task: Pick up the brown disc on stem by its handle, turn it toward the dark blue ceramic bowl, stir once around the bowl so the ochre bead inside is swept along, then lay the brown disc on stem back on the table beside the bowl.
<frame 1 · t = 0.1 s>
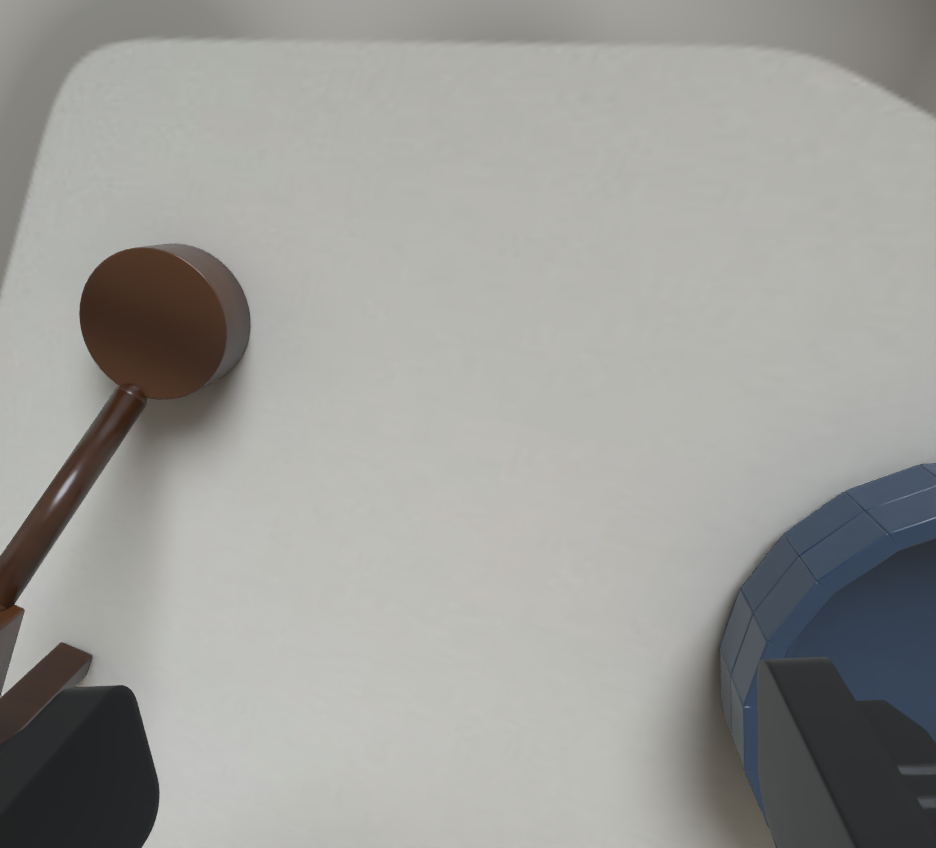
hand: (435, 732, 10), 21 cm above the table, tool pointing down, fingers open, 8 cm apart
brown disc on stem: (181, 316, 30), on the table
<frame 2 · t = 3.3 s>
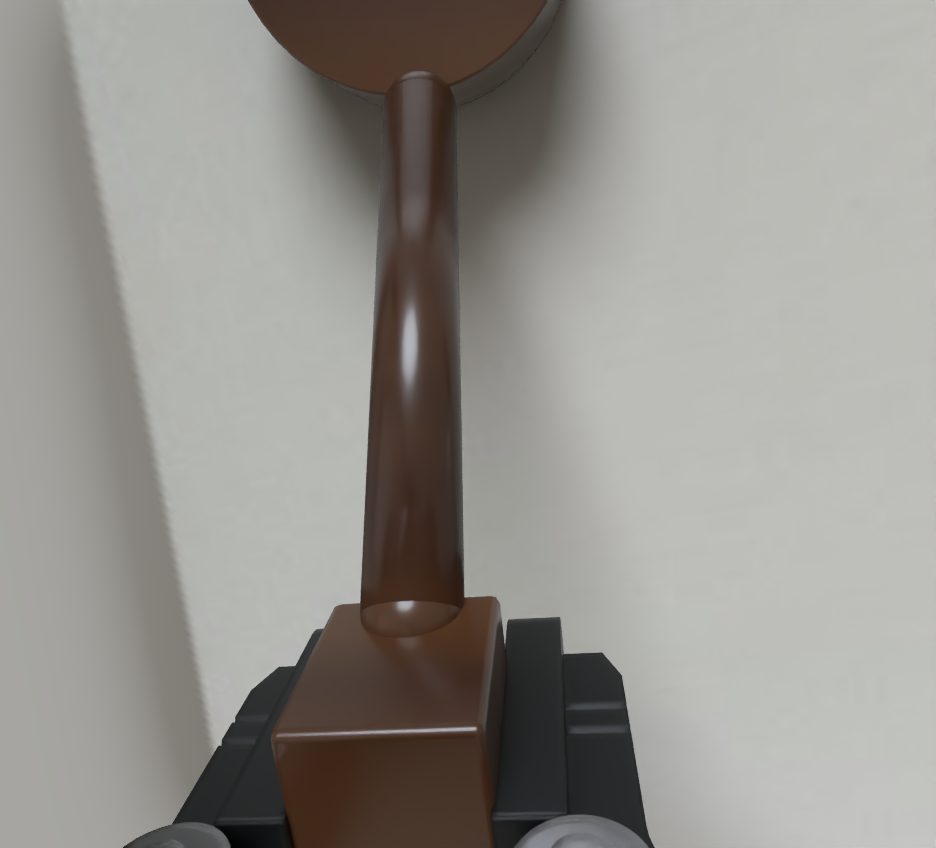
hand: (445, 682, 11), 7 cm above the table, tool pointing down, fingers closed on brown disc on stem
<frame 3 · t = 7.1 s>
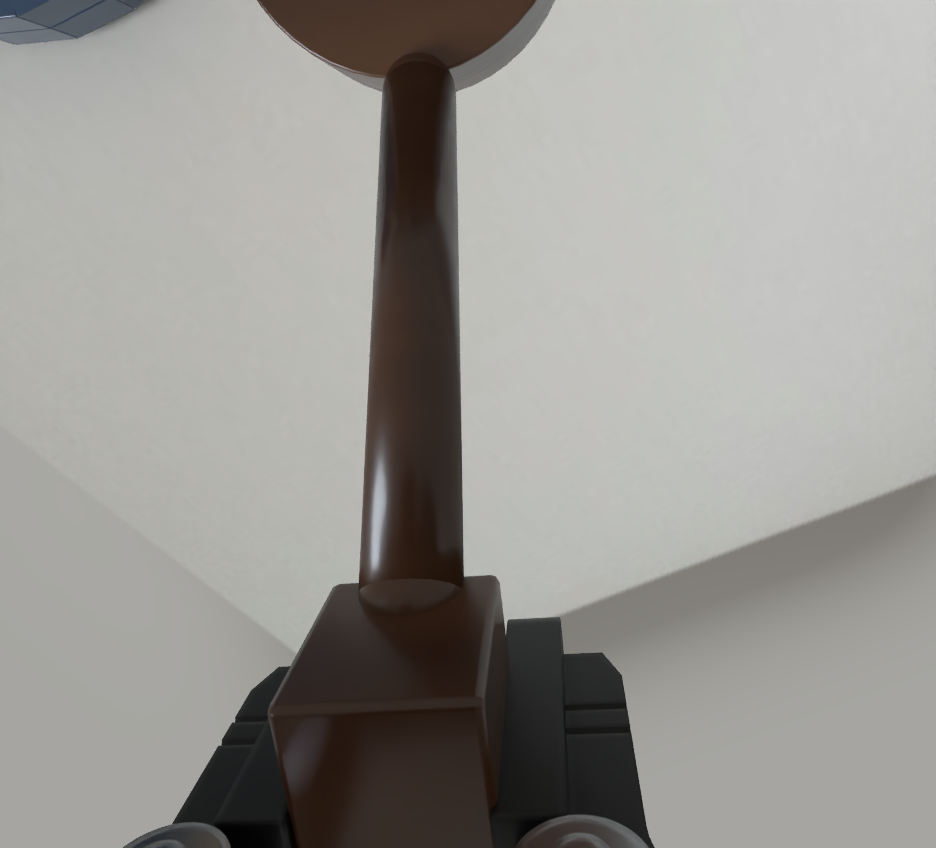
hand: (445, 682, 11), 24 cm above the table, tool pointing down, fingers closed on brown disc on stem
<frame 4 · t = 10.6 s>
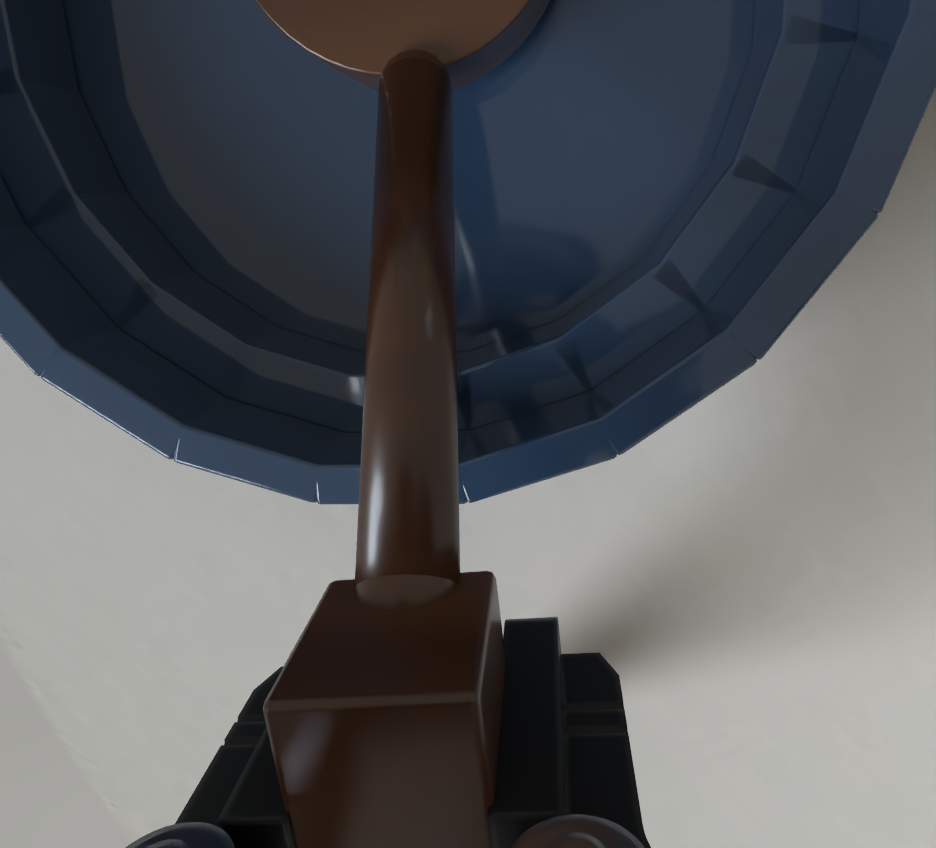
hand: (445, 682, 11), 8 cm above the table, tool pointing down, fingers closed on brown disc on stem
bowl: (401, 18, 16), on the table
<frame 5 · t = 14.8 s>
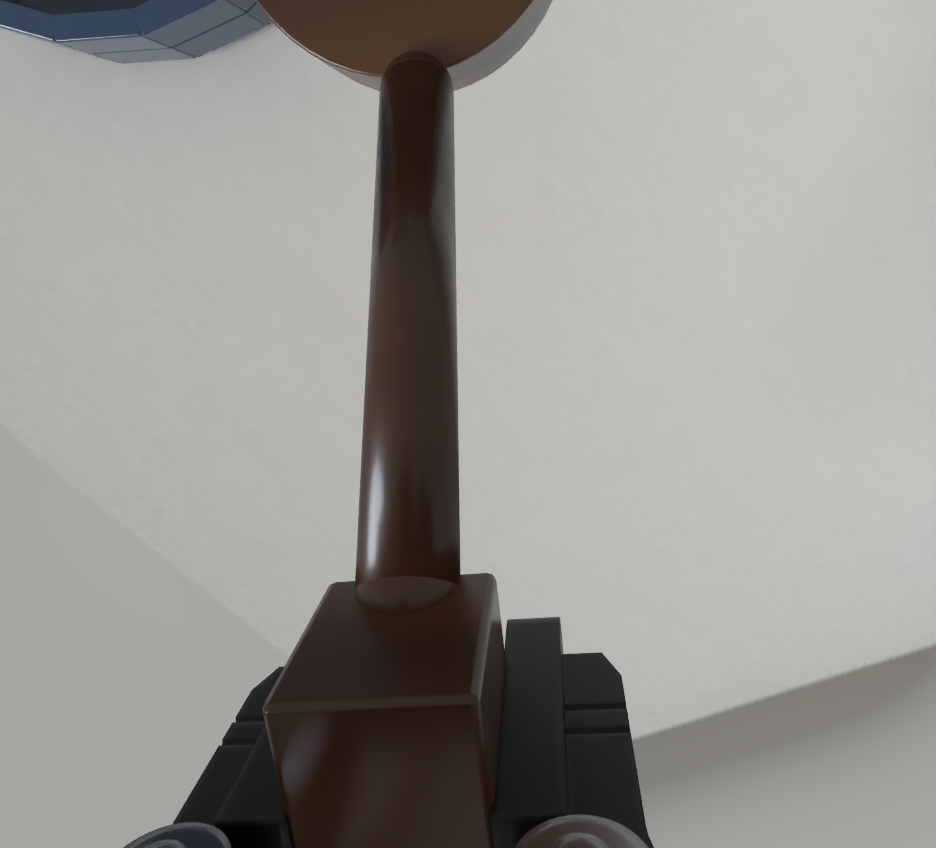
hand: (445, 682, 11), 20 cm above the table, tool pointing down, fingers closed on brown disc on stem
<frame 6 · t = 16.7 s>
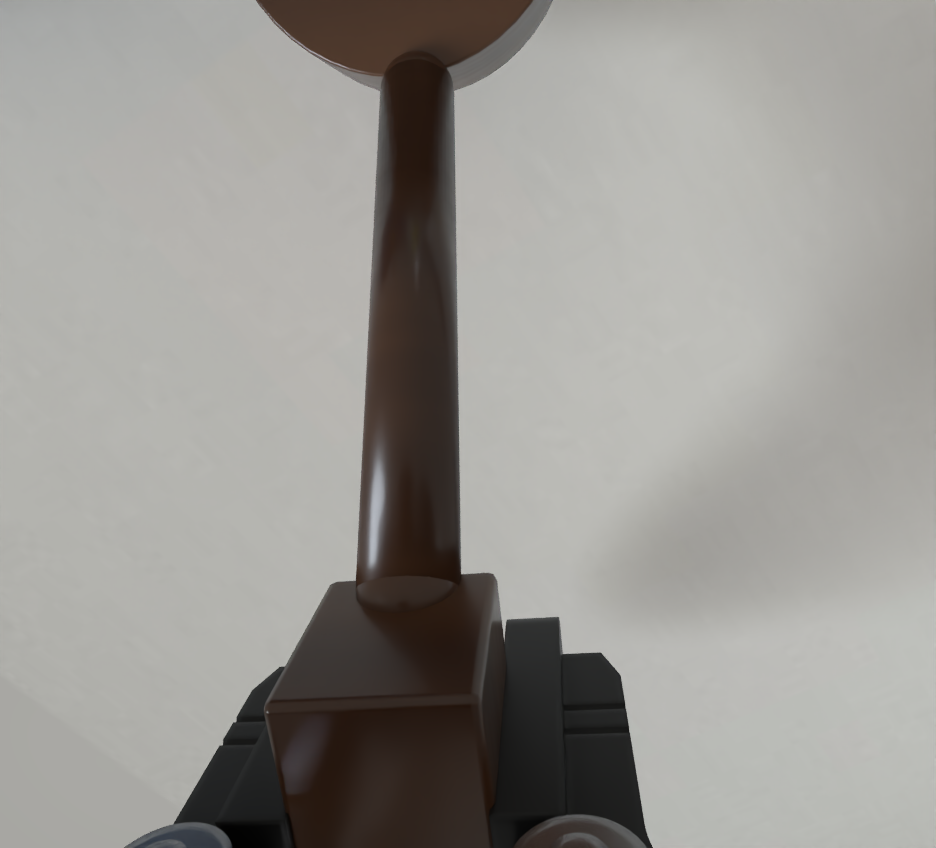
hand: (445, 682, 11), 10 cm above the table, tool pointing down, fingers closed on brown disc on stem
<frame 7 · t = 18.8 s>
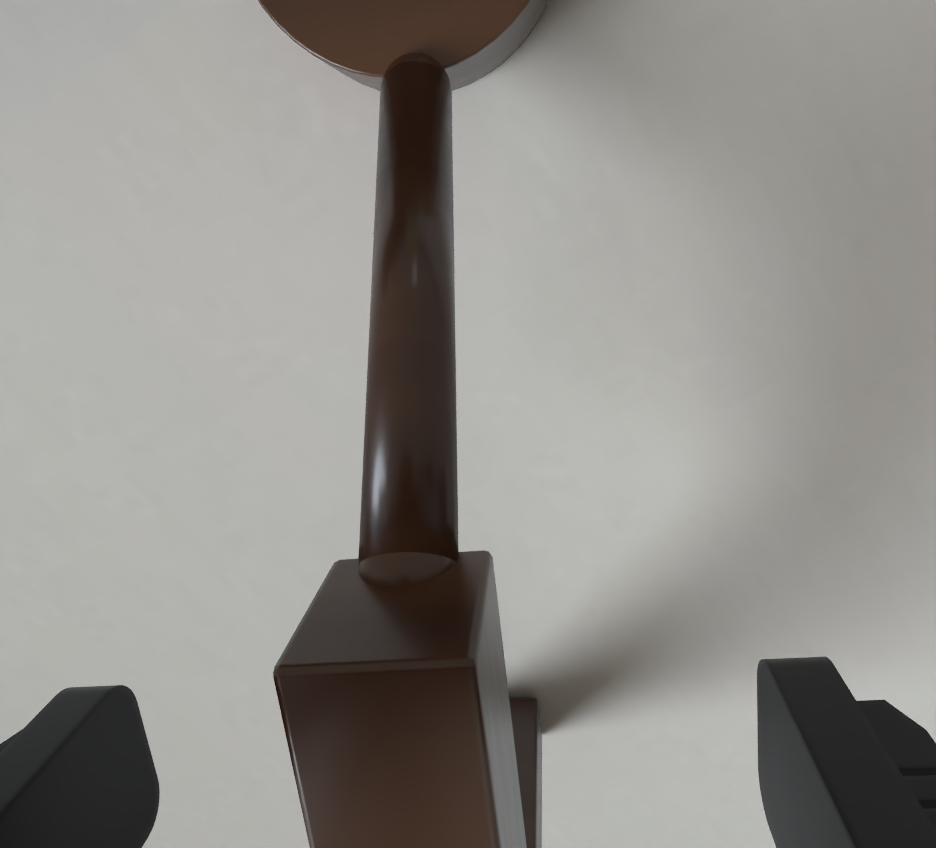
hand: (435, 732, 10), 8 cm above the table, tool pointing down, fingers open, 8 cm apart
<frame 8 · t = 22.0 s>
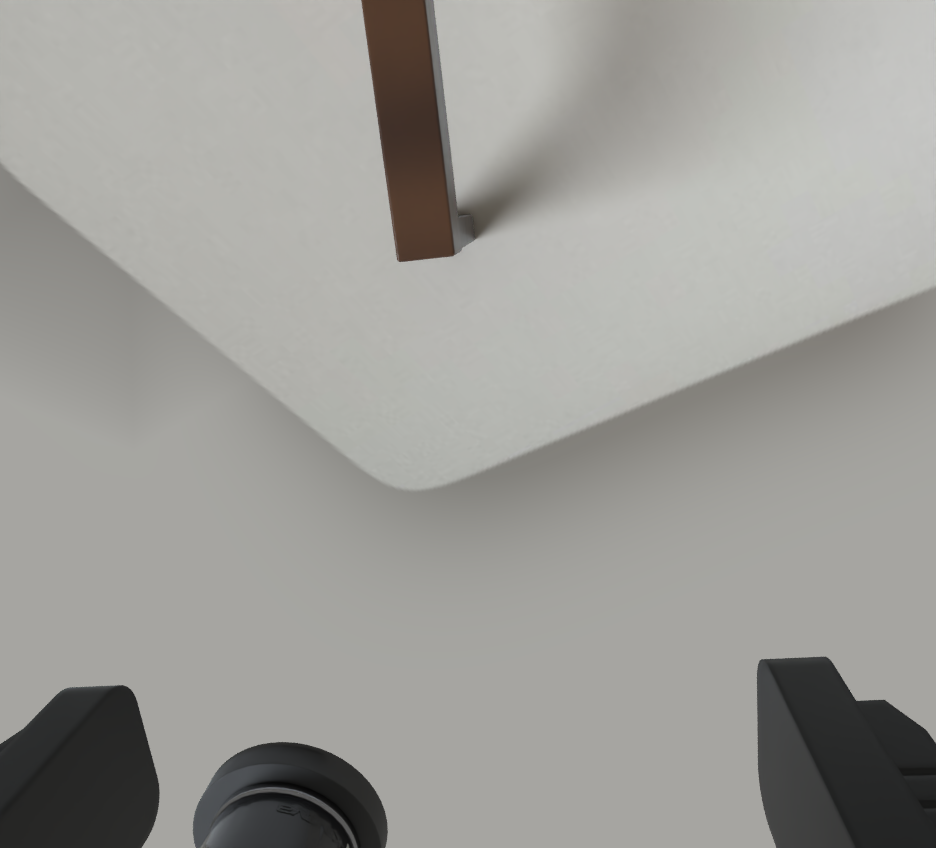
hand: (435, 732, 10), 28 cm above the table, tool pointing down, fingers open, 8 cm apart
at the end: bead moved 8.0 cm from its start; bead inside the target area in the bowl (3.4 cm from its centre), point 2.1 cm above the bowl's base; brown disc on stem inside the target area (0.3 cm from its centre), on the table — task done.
